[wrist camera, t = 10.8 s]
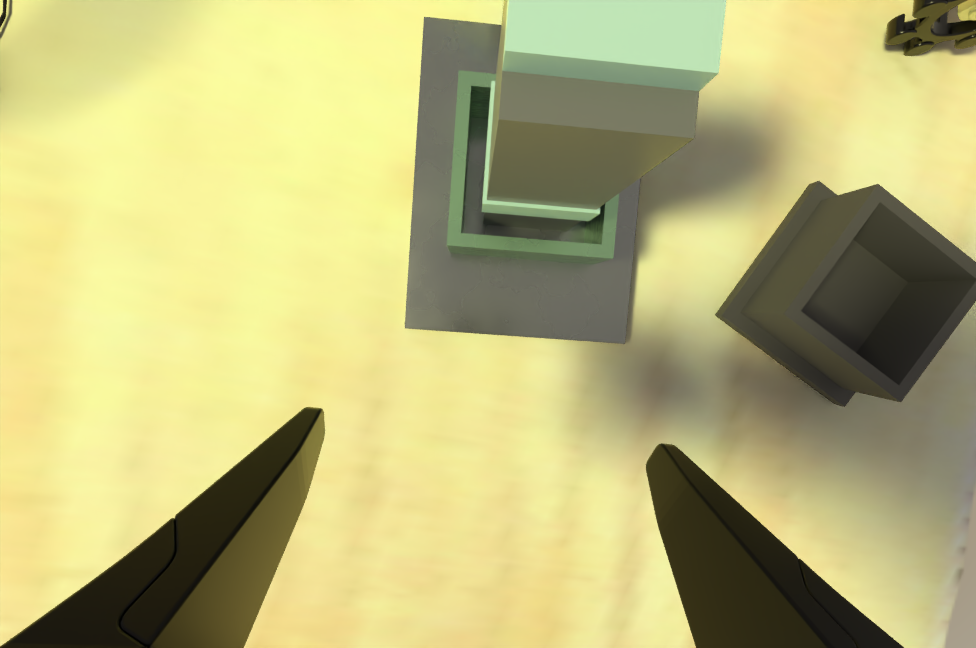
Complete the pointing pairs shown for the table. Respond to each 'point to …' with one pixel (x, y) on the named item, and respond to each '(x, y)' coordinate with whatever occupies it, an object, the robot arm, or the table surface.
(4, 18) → the headphones
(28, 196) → the table surface
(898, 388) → the box
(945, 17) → the valve
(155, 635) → the robot arm
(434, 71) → the port
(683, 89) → the plug
